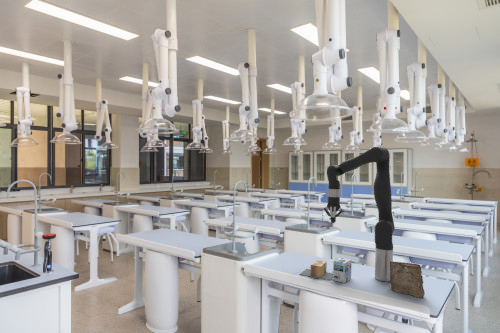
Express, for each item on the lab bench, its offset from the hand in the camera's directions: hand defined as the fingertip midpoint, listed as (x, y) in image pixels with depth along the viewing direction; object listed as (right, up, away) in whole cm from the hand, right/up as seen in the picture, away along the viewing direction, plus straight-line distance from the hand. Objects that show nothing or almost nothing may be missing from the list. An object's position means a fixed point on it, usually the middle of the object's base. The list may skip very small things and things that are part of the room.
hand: (333, 222), depth 211 cm
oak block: (-11, -23, -15) cm, 30 cm away
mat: (-14, -26, -22) cm, 37 cm away
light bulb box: (-2, -27, -29) cm, 40 cm away
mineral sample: (+24, -27, -48) cm, 60 cm away
